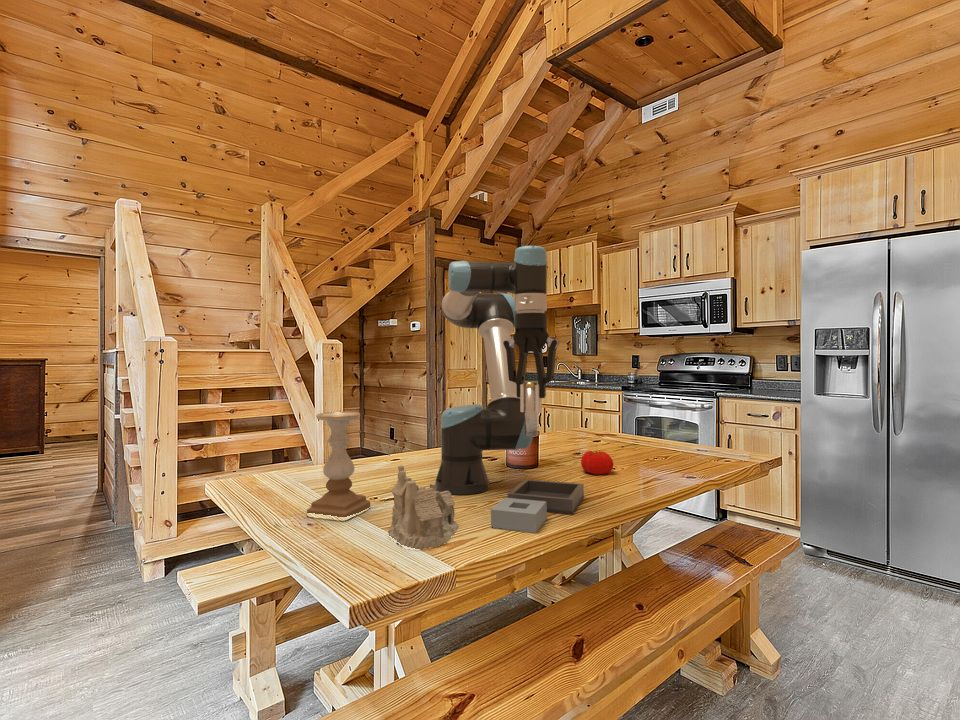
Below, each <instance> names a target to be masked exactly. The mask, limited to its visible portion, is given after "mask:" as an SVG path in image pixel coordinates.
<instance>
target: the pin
mask: <svg viewBox="0 0 960 720" xmlns="http://www.w3.org/2000/svg"><path fill="white" fill-rule="evenodd" d="M524 384H525V435H526V436H533V437H535V436H538V413H535V385H537V384H538V382H537V381H525V382H524Z"/></svg>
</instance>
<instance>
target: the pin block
mask: <svg viewBox="0 0 960 720" xmlns="http://www.w3.org/2000/svg"><path fill="white" fill-rule="evenodd" d="M547 514H548V512H547V502H546V501H536V500H525V499H515V498H507V497H504V498H503V499H502V500H500V501H499V502H498V503H496V504H495V506H493V507H492V508H491V509H490V529H496V528H502V529H501V530H505V529H507V530H506V531H513V530H514V532H524V533H532V534H536V533H537V532H538V531H539V530H540V528H541V527H542V526H543V524H544V523H545V522H546V520H547V518H548V515H547ZM492 527H493V528H492Z"/></svg>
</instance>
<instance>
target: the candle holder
mask: <svg viewBox="0 0 960 720" xmlns="http://www.w3.org/2000/svg"><path fill="white" fill-rule="evenodd" d="M315 416H316V419H317V420H320V421H325V422H326V424H327V426H328V427H329V429H330V433H331V434H330V436H329V437H328V439H327V443H329V446H330V447H331V452H330V454H329V456H328V458H327V460H326V461H325V463H324V465H323V469H322V471H323V474H324V476H325V477H326V478H327V479H328V480H327V481H326V484H325V488H326V489H327V492H326V493H324V494H323V495H322V496H321V497H319V498H318V499H316V500H313V501H312V502H311V506H310V507H309V508H307V509H306V514H307V513H315V514H323V515H331V516H337V517H347V516H350V515H353V514H356V513H359V512H361V511H363V510H365V509H367V508H369V507H370V508H371V501H370V500H368V499H367V496H366V495H363V494H357V493H355V492H354V491H353V490H351V488H352V486H353V481H352V480H351V479H350V477H351V476H353V474H354V473H355V464H354V462H353V460H352V459H351V457H350V456H349V454H348V452H347V446H348V445H349V442H350V441H351V439H350V437H349V436H348V435H347V428H348V427H349V426H350V423H351V420H356V419H359V418H360V417H361V413H360V412H357V411H330V412H322V413H317V414H316V415H315Z"/></svg>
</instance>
